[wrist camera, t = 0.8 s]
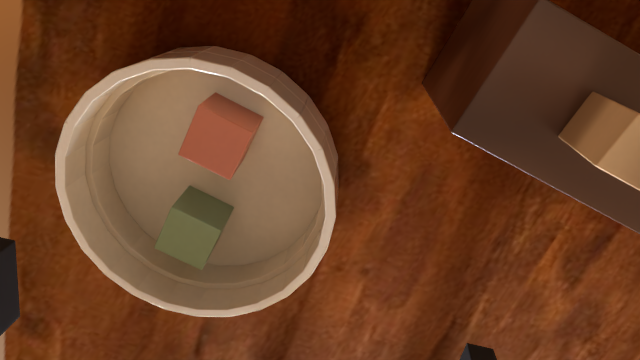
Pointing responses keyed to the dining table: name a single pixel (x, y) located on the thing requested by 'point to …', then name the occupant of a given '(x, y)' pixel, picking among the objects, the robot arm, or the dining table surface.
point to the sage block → (193, 227)
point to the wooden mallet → (607, 137)
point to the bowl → (198, 181)
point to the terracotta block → (220, 135)
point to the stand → (535, 93)
